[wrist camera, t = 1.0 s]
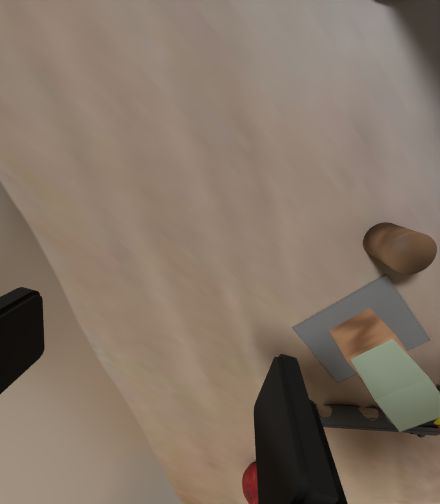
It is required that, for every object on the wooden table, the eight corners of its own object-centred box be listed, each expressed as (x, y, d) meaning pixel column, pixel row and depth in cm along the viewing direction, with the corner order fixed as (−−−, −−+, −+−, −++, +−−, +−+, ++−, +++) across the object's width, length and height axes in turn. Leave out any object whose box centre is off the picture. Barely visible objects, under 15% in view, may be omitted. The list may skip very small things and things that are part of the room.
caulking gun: (289, 386, 39) (287, 437, 41) (530, 398, 36) (520, 453, 37) (284, 371, 43) (283, 418, 44) (501, 380, 40) (493, 431, 41)
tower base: (370, 308, 35) (394, 334, 29) (391, 338, 36) (419, 369, 31) (328, 330, 37) (345, 358, 31) (351, 358, 38) (370, 390, 33)
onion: (236, 460, 50) (235, 511, 42) (257, 450, 48) (260, 501, 41) (253, 474, 51) (256, 526, 44) (274, 465, 49) (280, 518, 42)
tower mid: (393, 338, 29) (429, 377, 24) (414, 368, 31) (453, 412, 25) (350, 359, 31) (374, 400, 25) (372, 386, 32) (399, 432, 27)
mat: (385, 274, 33) (387, 275, 33) (428, 338, 36) (430, 340, 36) (292, 327, 38) (292, 328, 37) (336, 380, 40) (337, 382, 40)
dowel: (390, 215, 31) (424, 224, 25) (408, 243, 32) (444, 258, 26) (356, 237, 32) (381, 250, 26) (373, 263, 33) (401, 281, 27)
